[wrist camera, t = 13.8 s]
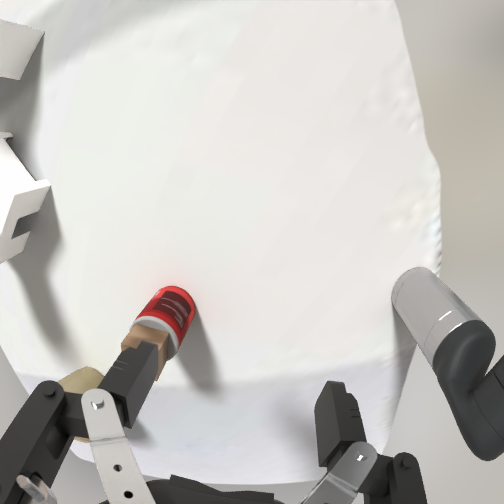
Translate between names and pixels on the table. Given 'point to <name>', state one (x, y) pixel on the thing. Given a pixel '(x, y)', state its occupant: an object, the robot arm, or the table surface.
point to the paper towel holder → (16, 198)
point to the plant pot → (81, 385)
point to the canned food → (169, 315)
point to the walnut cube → (151, 336)
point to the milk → (16, 48)
